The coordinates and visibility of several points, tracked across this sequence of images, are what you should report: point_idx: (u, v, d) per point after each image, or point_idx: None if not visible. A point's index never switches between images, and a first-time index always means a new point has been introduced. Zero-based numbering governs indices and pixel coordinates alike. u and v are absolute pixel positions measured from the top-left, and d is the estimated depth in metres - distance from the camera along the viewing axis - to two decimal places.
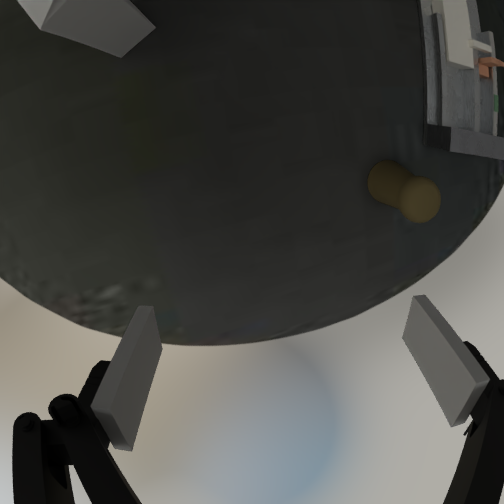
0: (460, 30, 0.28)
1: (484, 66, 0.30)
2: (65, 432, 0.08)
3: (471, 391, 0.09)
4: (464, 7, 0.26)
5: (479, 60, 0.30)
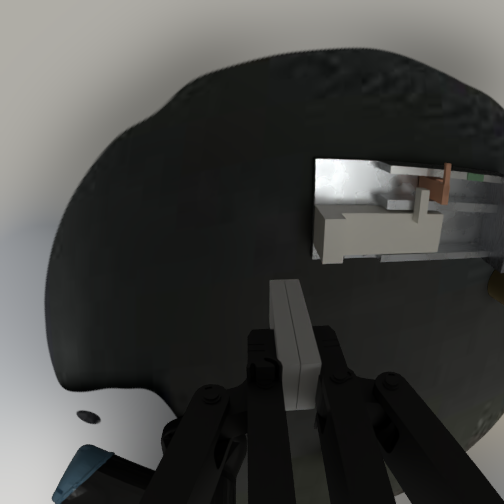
0: (401, 231, 0.31)
1: None
2: (253, 390, 0.10)
3: (300, 372, 0.11)
4: (366, 218, 0.31)
5: None
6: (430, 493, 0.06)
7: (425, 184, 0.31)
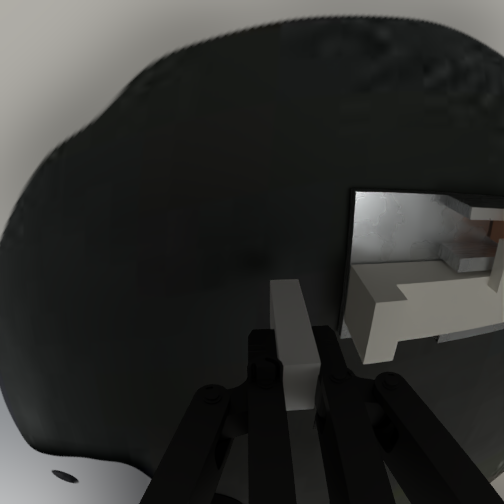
0: (472, 301, 0.19)
1: None
2: (253, 390, 0.10)
3: (299, 372, 0.11)
4: (430, 289, 0.18)
5: None
6: (430, 493, 0.06)
7: None
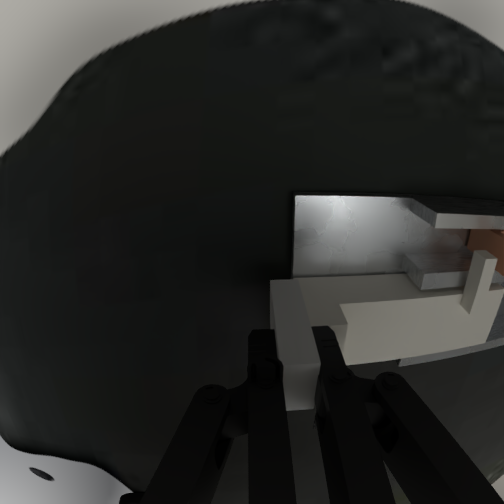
0: (440, 322, 0.17)
1: None
2: (253, 390, 0.10)
3: (299, 372, 0.11)
4: (384, 309, 0.16)
5: None
6: (429, 493, 0.06)
7: (483, 239, 0.16)
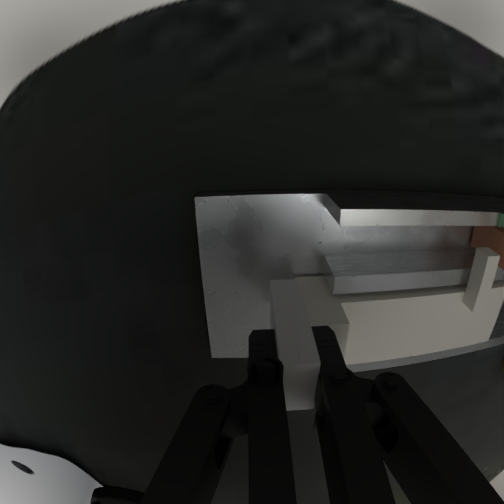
0: (443, 320, 0.17)
1: None
2: (253, 390, 0.10)
3: (299, 372, 0.11)
4: (386, 307, 0.16)
5: None
6: (429, 493, 0.06)
7: (486, 236, 0.16)
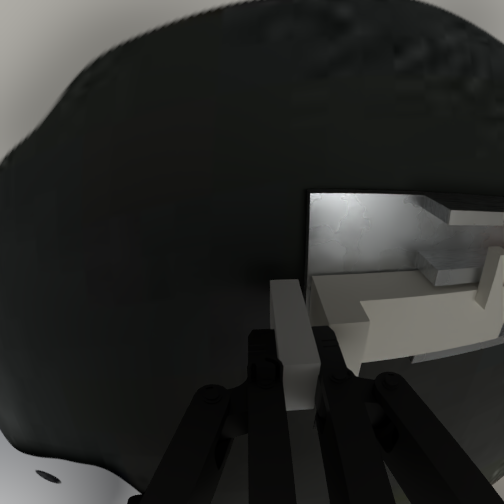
0: (456, 318, 0.17)
1: None
2: (253, 390, 0.10)
3: (300, 372, 0.11)
4: (403, 305, 0.16)
5: None
6: (430, 493, 0.06)
7: None
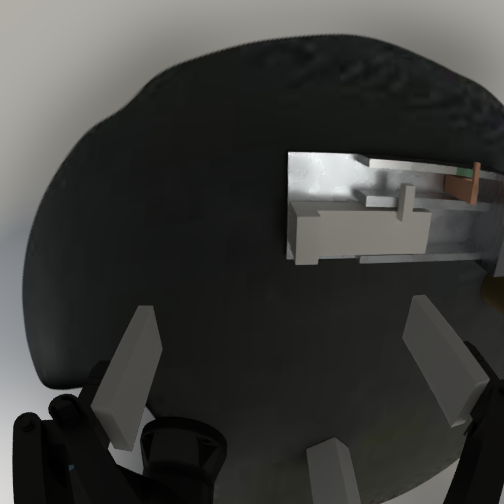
0: (385, 230, 0.29)
1: None
2: (65, 432, 0.08)
3: (471, 391, 0.09)
4: (345, 216, 0.29)
5: None
6: None
7: (452, 183, 0.29)
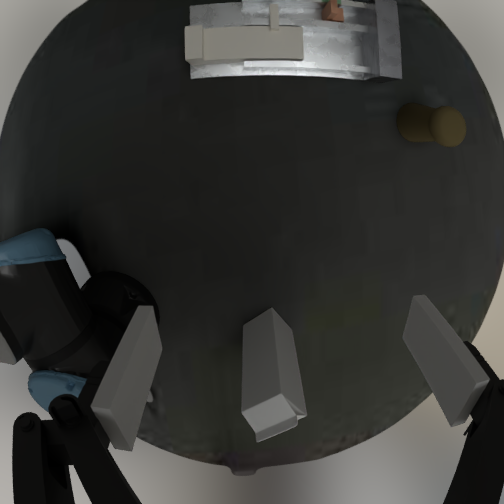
0: (261, 39, 0.33)
1: None
2: (65, 432, 0.08)
3: (471, 391, 0.09)
4: (225, 30, 0.32)
5: (329, 19, 0.32)
6: None
7: (324, 12, 0.32)
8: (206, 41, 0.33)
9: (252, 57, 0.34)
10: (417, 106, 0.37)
